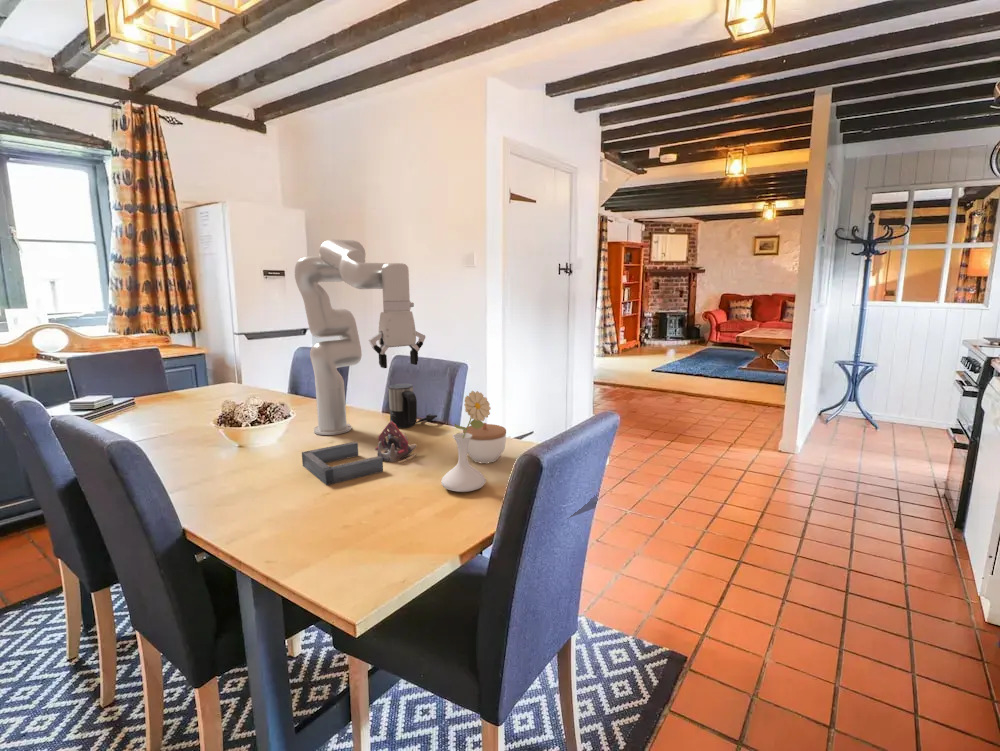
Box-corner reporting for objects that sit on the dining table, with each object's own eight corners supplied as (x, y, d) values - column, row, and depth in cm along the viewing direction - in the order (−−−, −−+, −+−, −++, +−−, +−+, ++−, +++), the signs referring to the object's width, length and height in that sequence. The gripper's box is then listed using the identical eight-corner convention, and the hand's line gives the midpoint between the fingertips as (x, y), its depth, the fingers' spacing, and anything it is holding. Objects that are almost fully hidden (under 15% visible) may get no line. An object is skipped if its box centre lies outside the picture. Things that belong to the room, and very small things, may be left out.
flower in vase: (449, 499, 131) (446, 398, 126) (435, 483, 141) (432, 389, 136) (498, 490, 136) (497, 393, 131) (482, 475, 146) (480, 385, 142)
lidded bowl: (454, 460, 159) (453, 423, 157) (484, 449, 168) (484, 415, 166) (485, 470, 150) (484, 432, 148) (515, 458, 159) (515, 422, 157)
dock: (302, 465, 155) (301, 452, 154) (355, 454, 164) (355, 441, 164) (326, 485, 140) (325, 470, 139) (383, 471, 150) (382, 457, 149)
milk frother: (383, 426, 195) (382, 386, 192) (414, 416, 208) (413, 379, 205) (412, 432, 187) (411, 390, 184) (442, 422, 200) (441, 383, 197)
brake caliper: (363, 453, 158) (378, 415, 162) (383, 465, 167) (397, 430, 171) (393, 459, 153) (408, 420, 157) (413, 471, 161) (426, 434, 166)
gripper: (417, 305, 163) (419, 361, 166) (362, 307, 153) (366, 367, 156) (429, 306, 157) (431, 364, 160) (373, 309, 147) (376, 370, 150)
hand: (399, 365), depth 158 cm, fingers open, 9 cm apart
